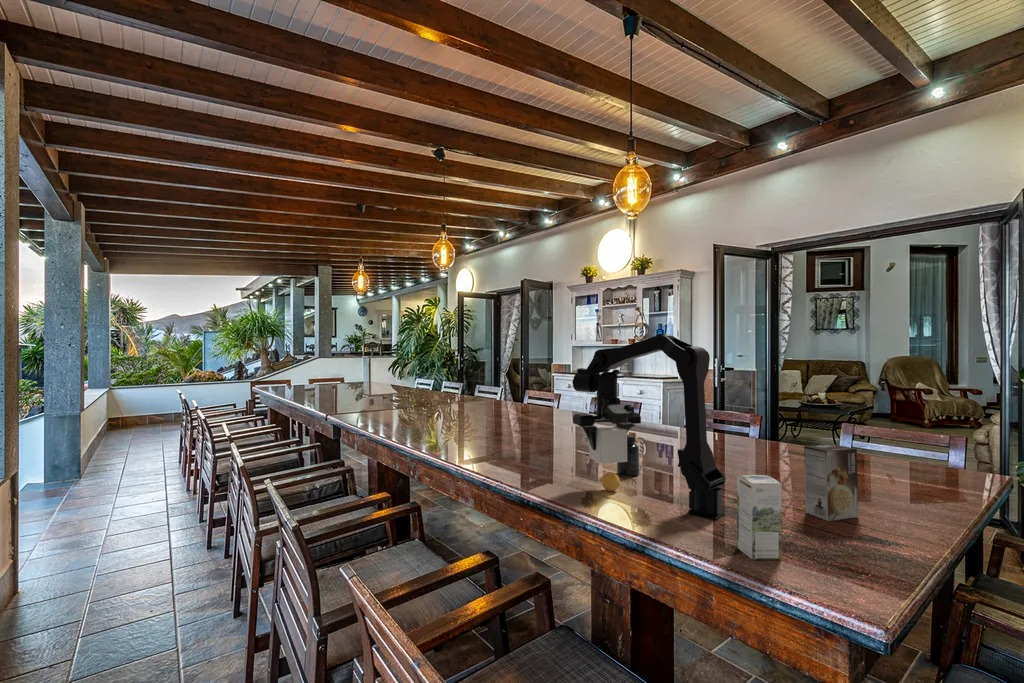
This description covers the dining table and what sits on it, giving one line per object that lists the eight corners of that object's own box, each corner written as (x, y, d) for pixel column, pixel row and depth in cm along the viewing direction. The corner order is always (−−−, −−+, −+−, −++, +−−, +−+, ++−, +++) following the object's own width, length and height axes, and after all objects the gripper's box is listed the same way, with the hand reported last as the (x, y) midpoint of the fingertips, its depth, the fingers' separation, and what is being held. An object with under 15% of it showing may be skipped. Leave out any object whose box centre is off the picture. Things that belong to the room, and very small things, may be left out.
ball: (617, 474, 136) (623, 490, 133) (600, 479, 137) (606, 496, 134) (615, 467, 133) (621, 484, 129) (598, 472, 133) (604, 489, 130)
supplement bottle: (637, 471, 154) (637, 434, 154) (640, 477, 147) (640, 438, 147) (615, 471, 155) (615, 433, 155) (618, 476, 148) (617, 437, 148)
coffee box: (834, 509, 118) (833, 443, 118) (859, 518, 112) (858, 448, 112) (804, 512, 115) (803, 445, 116) (828, 521, 109) (827, 450, 109)
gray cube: (613, 456, 140) (613, 425, 140) (627, 461, 132) (626, 429, 133) (589, 458, 137) (589, 427, 138) (602, 463, 130) (601, 430, 130)
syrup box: (764, 547, 95) (764, 473, 95) (782, 560, 89) (782, 481, 89) (736, 548, 95) (735, 473, 95) (752, 561, 89) (751, 482, 89)
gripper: (589, 397, 125) (589, 457, 125) (652, 395, 131) (652, 453, 130) (571, 393, 136) (572, 449, 136) (630, 392, 141) (630, 445, 141)
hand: (607, 449), depth 135 cm, fingers closed on gray cube, 8 cm apart
